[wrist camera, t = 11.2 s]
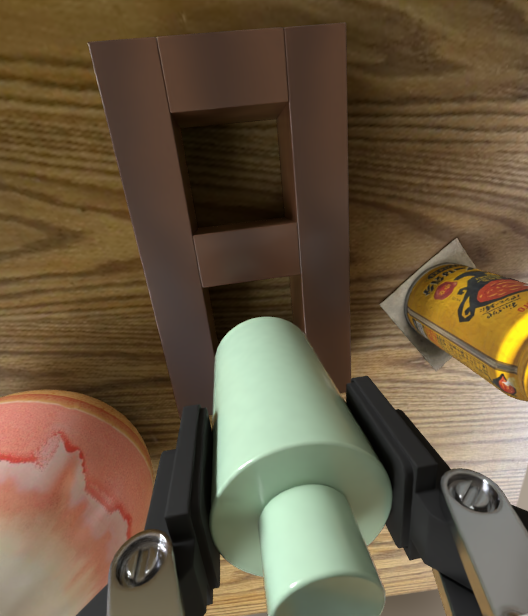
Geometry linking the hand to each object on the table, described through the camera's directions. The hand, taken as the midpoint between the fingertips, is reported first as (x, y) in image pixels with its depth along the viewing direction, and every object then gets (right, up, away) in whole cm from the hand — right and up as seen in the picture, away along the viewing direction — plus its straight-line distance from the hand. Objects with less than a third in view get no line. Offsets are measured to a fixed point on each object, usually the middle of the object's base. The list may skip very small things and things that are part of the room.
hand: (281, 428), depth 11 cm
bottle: (-1, +2, +4) cm, 5 cm away
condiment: (+14, +4, +14) cm, 20 cm away
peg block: (-2, +9, +11) cm, 14 cm away
